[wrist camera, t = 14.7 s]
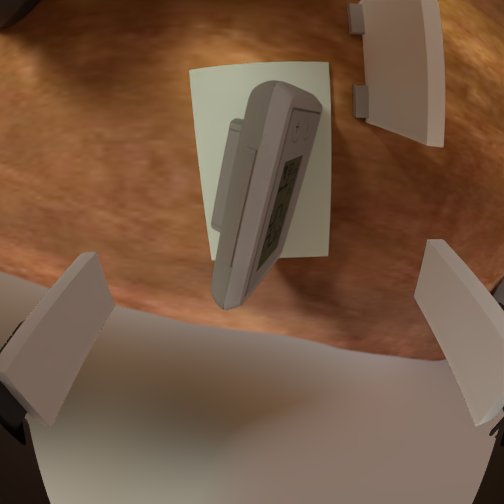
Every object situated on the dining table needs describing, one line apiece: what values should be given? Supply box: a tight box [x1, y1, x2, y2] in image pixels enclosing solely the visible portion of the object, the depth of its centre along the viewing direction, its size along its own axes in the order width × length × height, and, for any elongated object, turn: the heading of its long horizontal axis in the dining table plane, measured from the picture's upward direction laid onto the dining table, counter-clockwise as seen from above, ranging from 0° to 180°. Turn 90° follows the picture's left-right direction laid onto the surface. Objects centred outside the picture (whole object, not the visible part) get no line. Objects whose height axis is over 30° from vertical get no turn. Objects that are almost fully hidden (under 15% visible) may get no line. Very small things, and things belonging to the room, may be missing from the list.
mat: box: [189, 62, 331, 260], centre depth 27 cm, size 19×12×1 cm, turn 4°
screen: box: [347, 0, 445, 147], centre depth 17 cm, size 12×4×12 cm, turn 4°
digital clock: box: [211, 80, 323, 310], centre depth 23 cm, size 16×9×11 cm, turn 156°
